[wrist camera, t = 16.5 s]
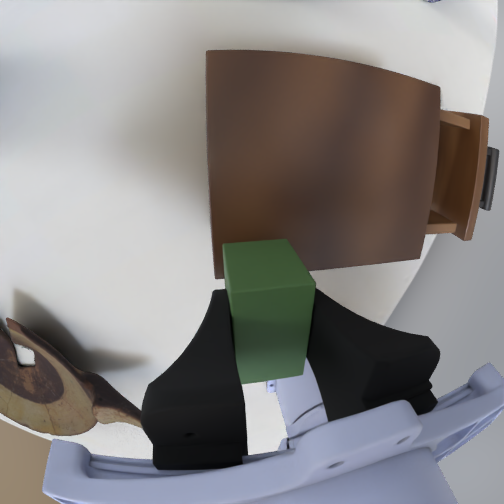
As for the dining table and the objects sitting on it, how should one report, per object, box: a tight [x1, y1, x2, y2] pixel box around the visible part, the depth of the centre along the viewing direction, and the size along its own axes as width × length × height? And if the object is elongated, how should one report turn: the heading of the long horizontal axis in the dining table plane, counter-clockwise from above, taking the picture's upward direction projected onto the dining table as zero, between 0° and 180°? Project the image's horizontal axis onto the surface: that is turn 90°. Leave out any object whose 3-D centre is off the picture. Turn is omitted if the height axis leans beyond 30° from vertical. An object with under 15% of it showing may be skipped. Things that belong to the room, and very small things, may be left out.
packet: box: [222, 239, 316, 384], centre depth 12 cm, size 5×3×4 cm, turn 1°
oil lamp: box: [0, 318, 142, 436], centre depth 22 cm, size 22×30×8 cm
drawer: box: [426, 109, 499, 241], centre depth 18 cm, size 17×10×6 cm, turn 90°
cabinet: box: [206, 50, 440, 279], centre depth 17 cm, size 14×12×8 cm
